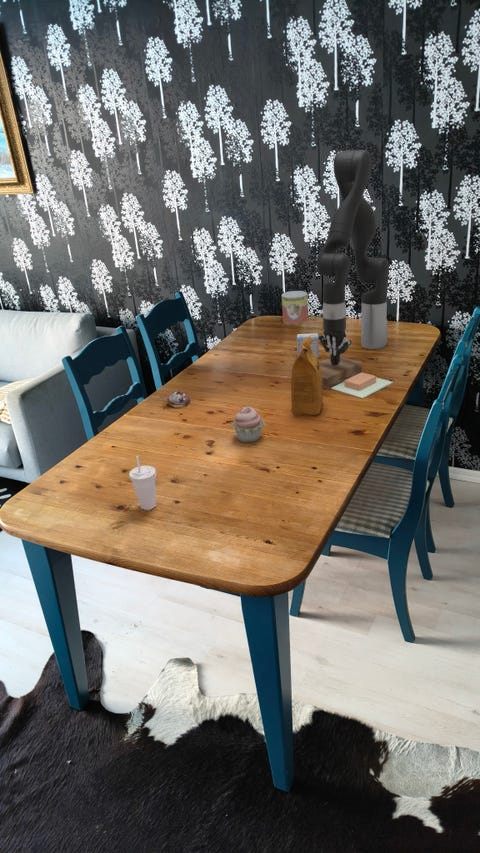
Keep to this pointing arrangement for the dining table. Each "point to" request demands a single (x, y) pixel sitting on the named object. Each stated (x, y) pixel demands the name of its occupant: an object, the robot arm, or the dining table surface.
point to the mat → (364, 392)
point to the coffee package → (306, 382)
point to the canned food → (294, 307)
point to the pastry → (178, 400)
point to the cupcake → (248, 425)
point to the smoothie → (144, 485)
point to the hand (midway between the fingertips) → (335, 364)
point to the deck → (339, 371)
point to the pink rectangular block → (360, 381)
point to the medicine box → (314, 345)
